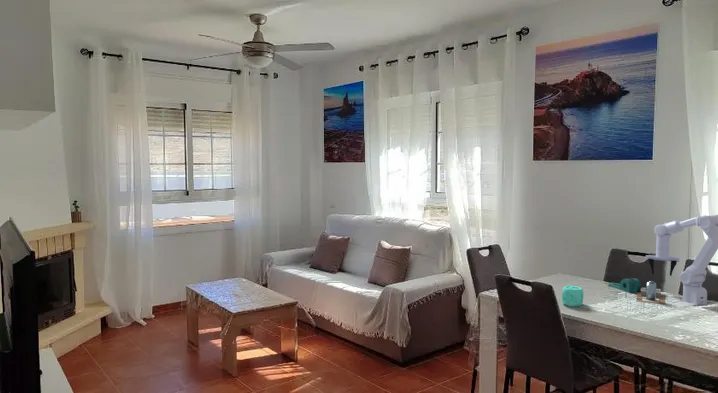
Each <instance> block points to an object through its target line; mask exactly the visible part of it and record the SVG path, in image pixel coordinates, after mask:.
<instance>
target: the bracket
mask: <svg viewBox="0 0 718 393" xmlns="http://www.w3.org/2000/svg"><path fill="white" fill-rule="evenodd" d="M608 287H611V288H615V289H618V290H619V291H622V292H625V293H627V294H632V293H635V294H636V293H637V292H641V289H642V283H641V281H640V280H639V279H638V278H637V277H635V278H622V279H621V280H620V282H619V283H618V282H609V283H608Z"/></svg>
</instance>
